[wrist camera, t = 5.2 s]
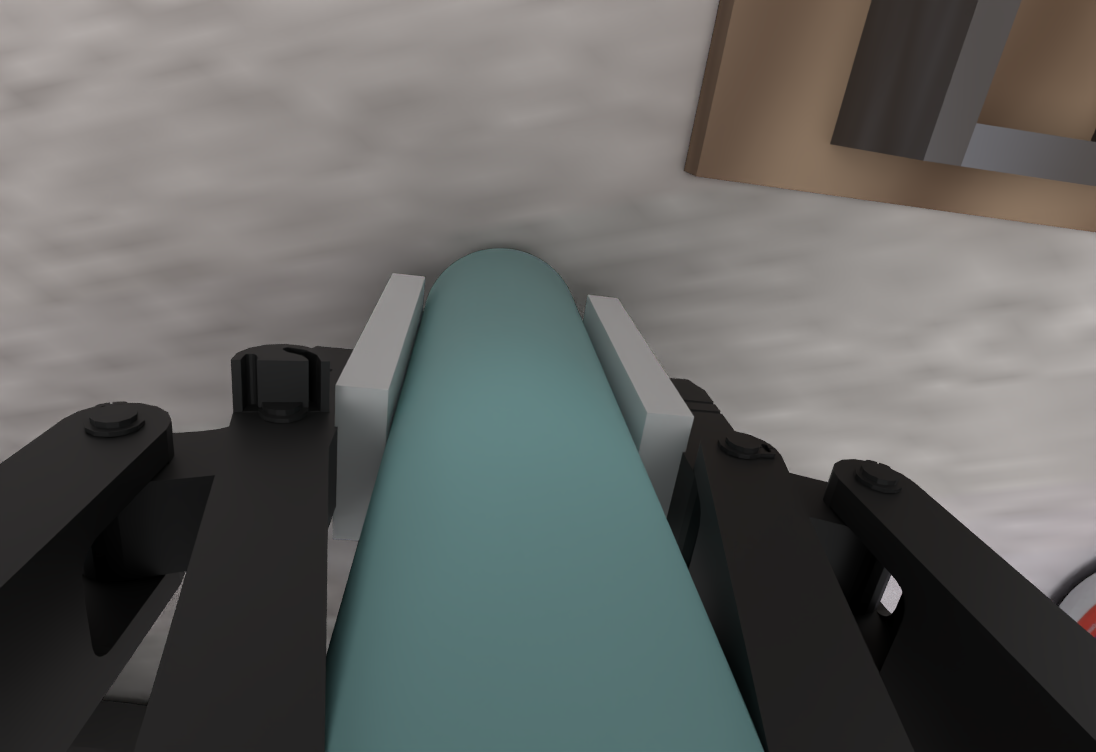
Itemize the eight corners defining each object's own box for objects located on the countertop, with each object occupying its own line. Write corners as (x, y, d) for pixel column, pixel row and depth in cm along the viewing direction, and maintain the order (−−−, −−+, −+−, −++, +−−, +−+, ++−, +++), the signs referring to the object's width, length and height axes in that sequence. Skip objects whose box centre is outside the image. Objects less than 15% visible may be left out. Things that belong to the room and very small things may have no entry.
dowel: (418, 386, 18) (250, 1126, 5) (428, 239, 16) (224, 765, 4) (564, 399, 18) (745, 1101, 6) (587, 257, 17) (905, 773, 4)
